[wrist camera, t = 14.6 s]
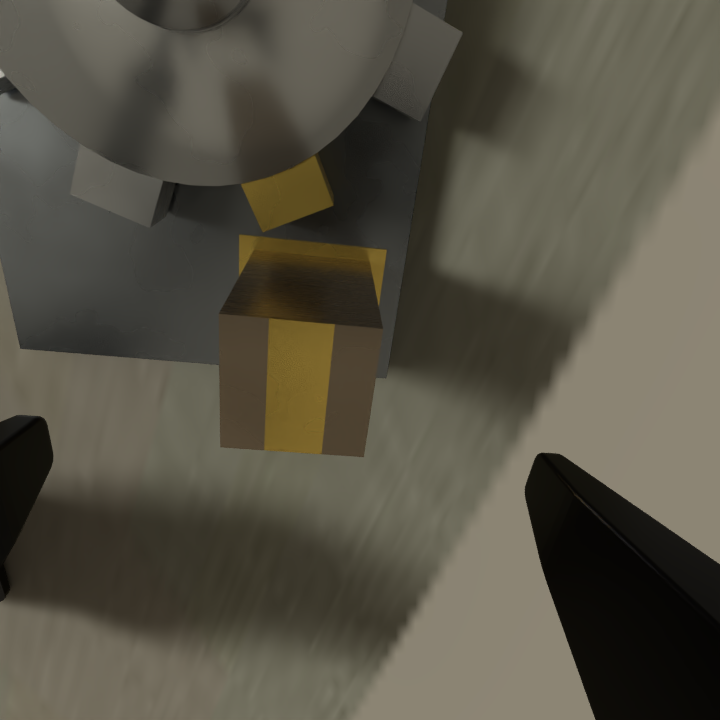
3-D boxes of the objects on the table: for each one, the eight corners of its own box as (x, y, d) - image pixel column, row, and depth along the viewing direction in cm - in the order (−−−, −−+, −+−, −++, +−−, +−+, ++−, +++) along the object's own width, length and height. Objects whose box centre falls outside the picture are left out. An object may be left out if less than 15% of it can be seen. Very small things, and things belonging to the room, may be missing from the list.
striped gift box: (369, 261, 15) (383, 329, 11) (356, 362, 17) (363, 456, 12) (253, 249, 15) (219, 313, 10) (251, 353, 16) (220, 447, 12)
